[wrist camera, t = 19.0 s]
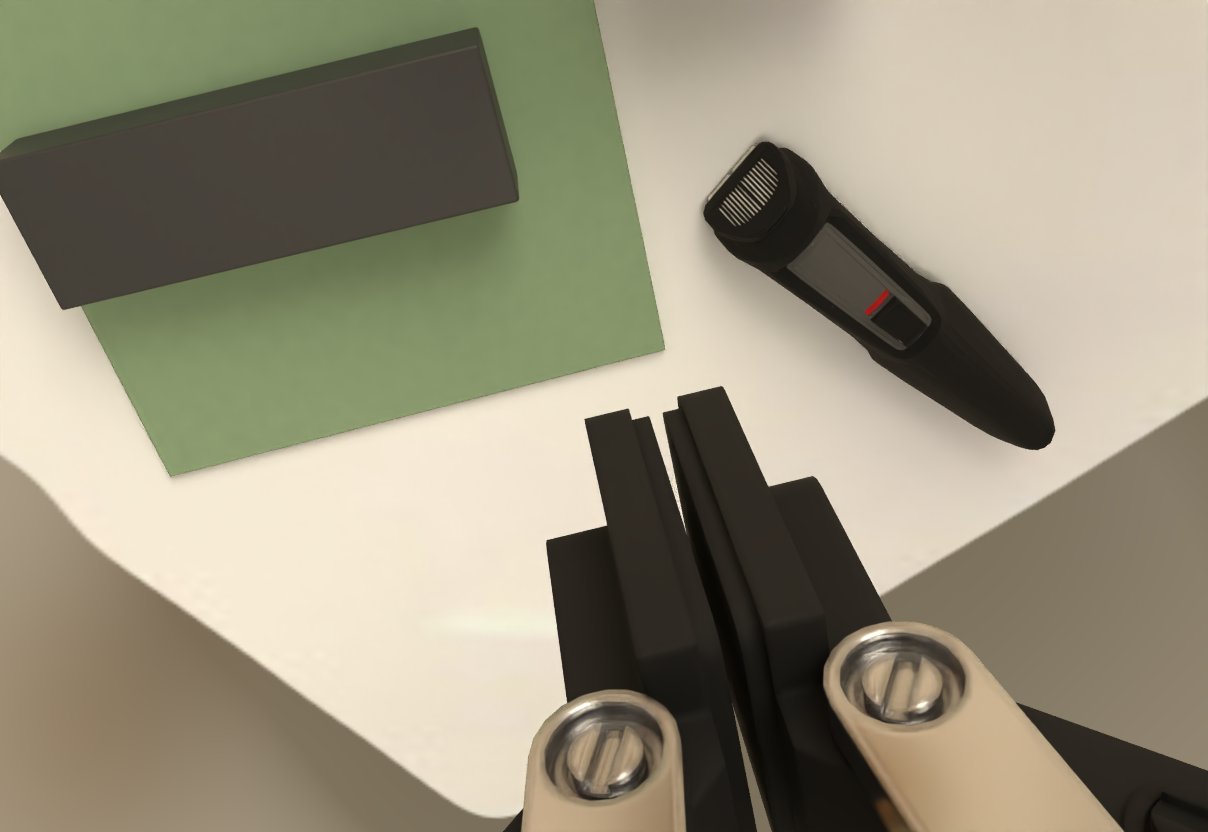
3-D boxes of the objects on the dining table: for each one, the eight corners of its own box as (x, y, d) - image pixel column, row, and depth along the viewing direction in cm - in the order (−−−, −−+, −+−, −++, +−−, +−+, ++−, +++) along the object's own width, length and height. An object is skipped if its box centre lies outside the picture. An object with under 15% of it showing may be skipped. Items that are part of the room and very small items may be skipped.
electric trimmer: (973, 440, 43) (1011, 485, 40) (690, 215, 36) (713, 251, 33) (1046, 371, 42) (1090, 413, 39) (768, 126, 35) (798, 156, 32)
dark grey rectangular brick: (478, 23, 32) (19, 135, 32) (477, 44, 29) (-18, 164, 30) (517, 172, 34) (90, 274, 34) (520, 202, 32) (61, 311, 32)
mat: (-153, -150, 28) (-158, -149, 28) (526, -319, 28) (527, -320, 28) (171, 472, 38) (169, 476, 38) (663, 346, 38) (665, 349, 38)
